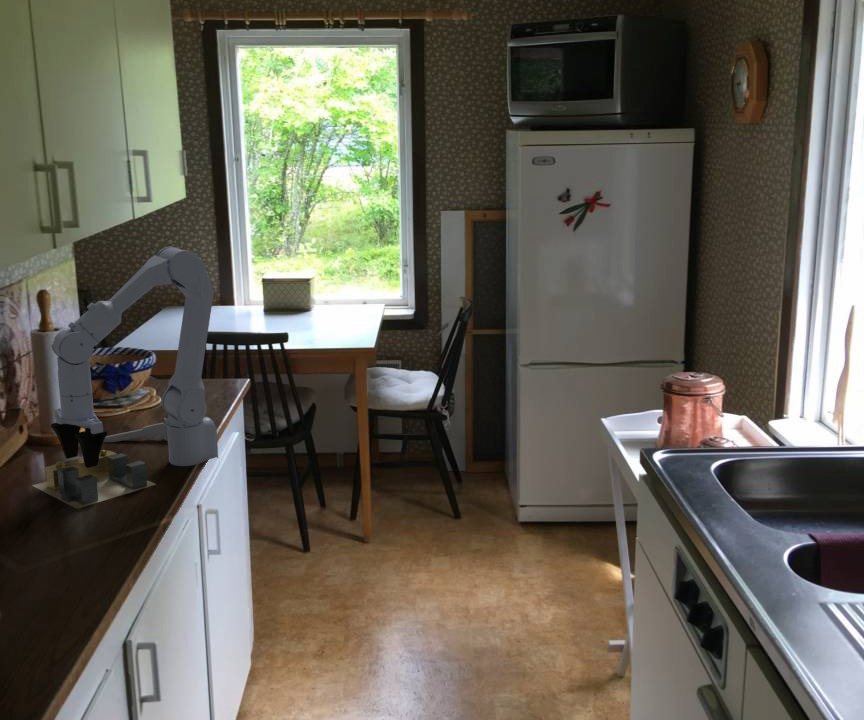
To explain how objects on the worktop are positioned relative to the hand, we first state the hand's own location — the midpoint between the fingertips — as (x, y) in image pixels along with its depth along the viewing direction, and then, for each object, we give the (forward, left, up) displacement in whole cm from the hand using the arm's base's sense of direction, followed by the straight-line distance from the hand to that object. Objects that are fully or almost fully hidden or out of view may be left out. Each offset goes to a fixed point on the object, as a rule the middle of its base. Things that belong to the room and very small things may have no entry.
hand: (81, 461), depth 174 cm
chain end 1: (+5, +8, -4) cm, 10 cm away
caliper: (-19, -15, -5) cm, 25 cm away
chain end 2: (-5, +8, -4) cm, 10 cm away
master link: (0, 0, -4) cm, 4 cm away
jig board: (0, +4, -5) cm, 6 cm away
